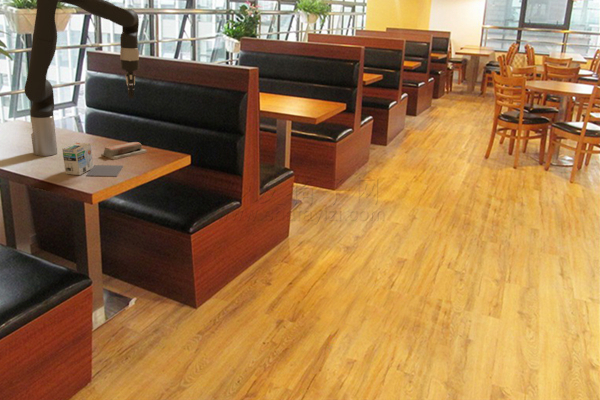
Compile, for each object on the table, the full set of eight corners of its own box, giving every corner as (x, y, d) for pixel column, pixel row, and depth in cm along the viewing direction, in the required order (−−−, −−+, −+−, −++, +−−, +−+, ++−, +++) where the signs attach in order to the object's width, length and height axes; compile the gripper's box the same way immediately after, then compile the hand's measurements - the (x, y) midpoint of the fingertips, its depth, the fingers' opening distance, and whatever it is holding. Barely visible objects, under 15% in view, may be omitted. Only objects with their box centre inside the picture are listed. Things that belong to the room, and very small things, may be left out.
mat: (86, 176, 227) (86, 175, 227) (94, 165, 240) (94, 165, 240) (116, 176, 228) (116, 175, 228) (123, 166, 241) (123, 165, 241)
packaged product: (113, 150, 248) (100, 145, 253) (114, 160, 249) (101, 156, 255) (146, 143, 261) (133, 139, 267) (147, 153, 263) (134, 148, 268)
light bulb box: (79, 175, 226) (76, 149, 223) (64, 174, 228) (61, 148, 224) (94, 167, 236) (91, 143, 232) (79, 166, 237) (76, 141, 234)
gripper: (120, 56, 244) (121, 93, 249) (120, 60, 231) (122, 99, 237) (137, 56, 246) (139, 93, 252) (139, 61, 234) (140, 99, 239)
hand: (131, 96), depth 244 cm, fingers open, 8 cm apart
